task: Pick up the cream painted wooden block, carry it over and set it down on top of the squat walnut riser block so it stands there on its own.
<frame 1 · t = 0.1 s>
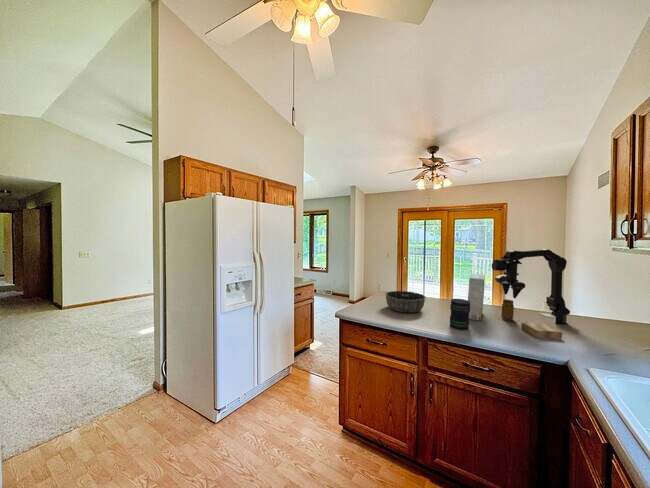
hand: (509, 296, 161), 15 cm above the worktop, fingers open, 9 cm apart
storage jar: (459, 327, 147), on the worktop
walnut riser: (540, 334, 139), on the worktop
cream block: (546, 327, 150), on the worktop
condiment: (508, 319, 162), on the worktop
snack box: (474, 316, 168), on the worktop
bundt pan: (404, 309, 179), on the worktop
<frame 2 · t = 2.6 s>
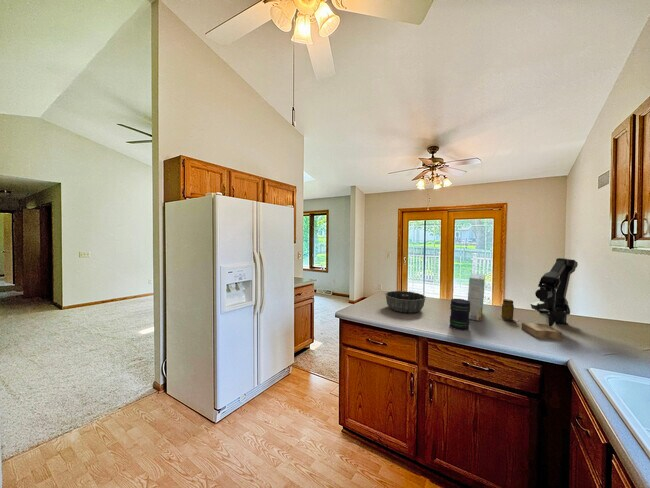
hand: (547, 324, 150), 2 cm above the worktop, fingers closed on cream block, 5 cm apart
cream block: (546, 327, 150), on the worktop, touching gripper
everything else where it was.
when the fingers open (7 cm above the worktop, at t = 5.9 s): cream block drops 1 cm, point 4 cm above the worktop.
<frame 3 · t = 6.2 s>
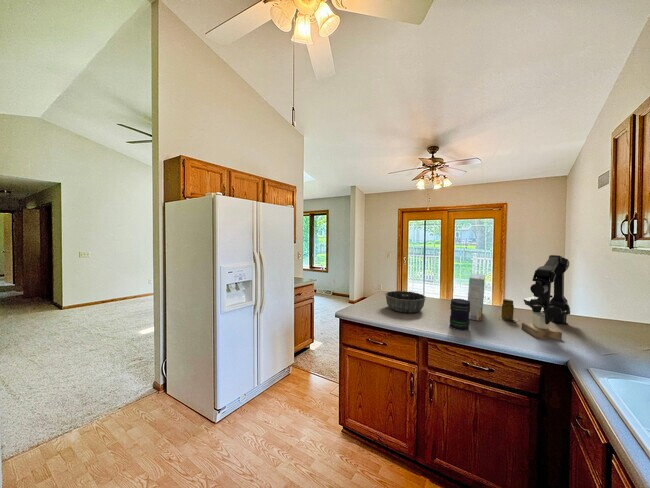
hand: (541, 321, 139), 7 cm above the worktop, fingers open, 8 cm apart
cream block: (540, 326, 139), point 4 cm above the worktop
everything else where it was.
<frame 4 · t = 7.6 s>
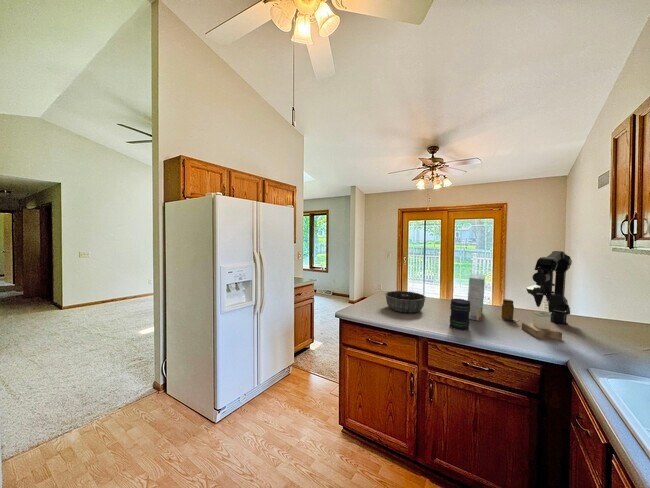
hand: (544, 309, 142), 12 cm above the worktop, fingers open, 9 cm apart
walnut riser: (540, 335, 139), on the worktop, touching cream block
cream block: (541, 327, 139), point 4 cm above the worktop, touching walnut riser
everything else where it was.
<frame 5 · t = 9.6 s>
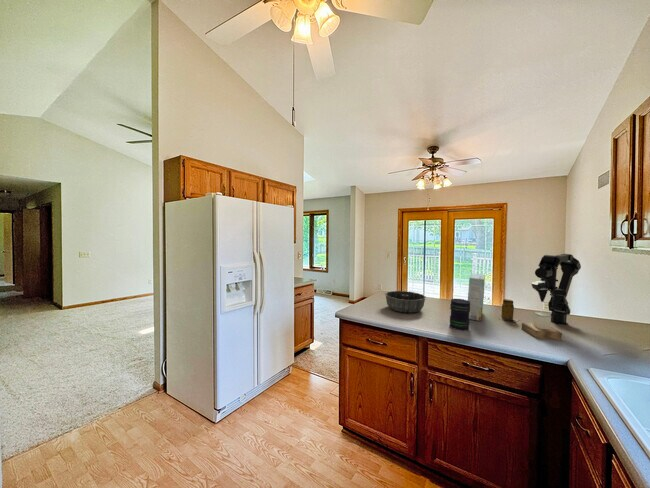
hand: (547, 303, 151), 13 cm above the worktop, fingers open, 9 cm apart
nothing on the worktop moved.
at the end: cream block inside the target area on the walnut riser (0.3 cm from its centre), point 4.3 cm above the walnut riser's base; cream block tilted 1°; cream block touching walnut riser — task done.
